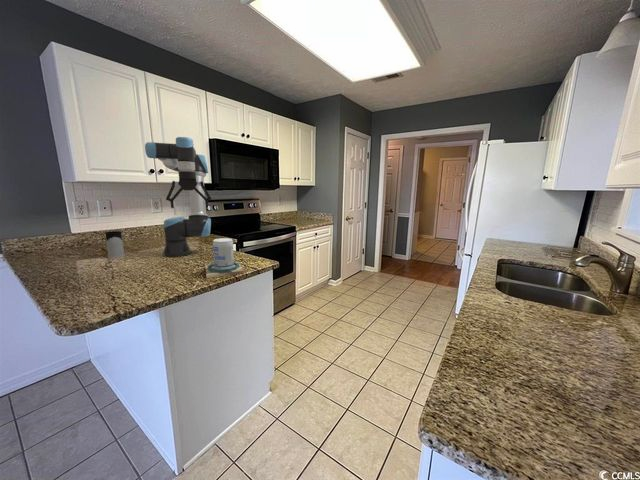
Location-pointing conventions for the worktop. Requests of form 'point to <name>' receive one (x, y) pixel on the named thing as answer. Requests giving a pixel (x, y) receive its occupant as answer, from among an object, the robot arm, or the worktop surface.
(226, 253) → the supplement tub
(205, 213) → the robot arm
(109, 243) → the glass holder
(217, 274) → the nest board
